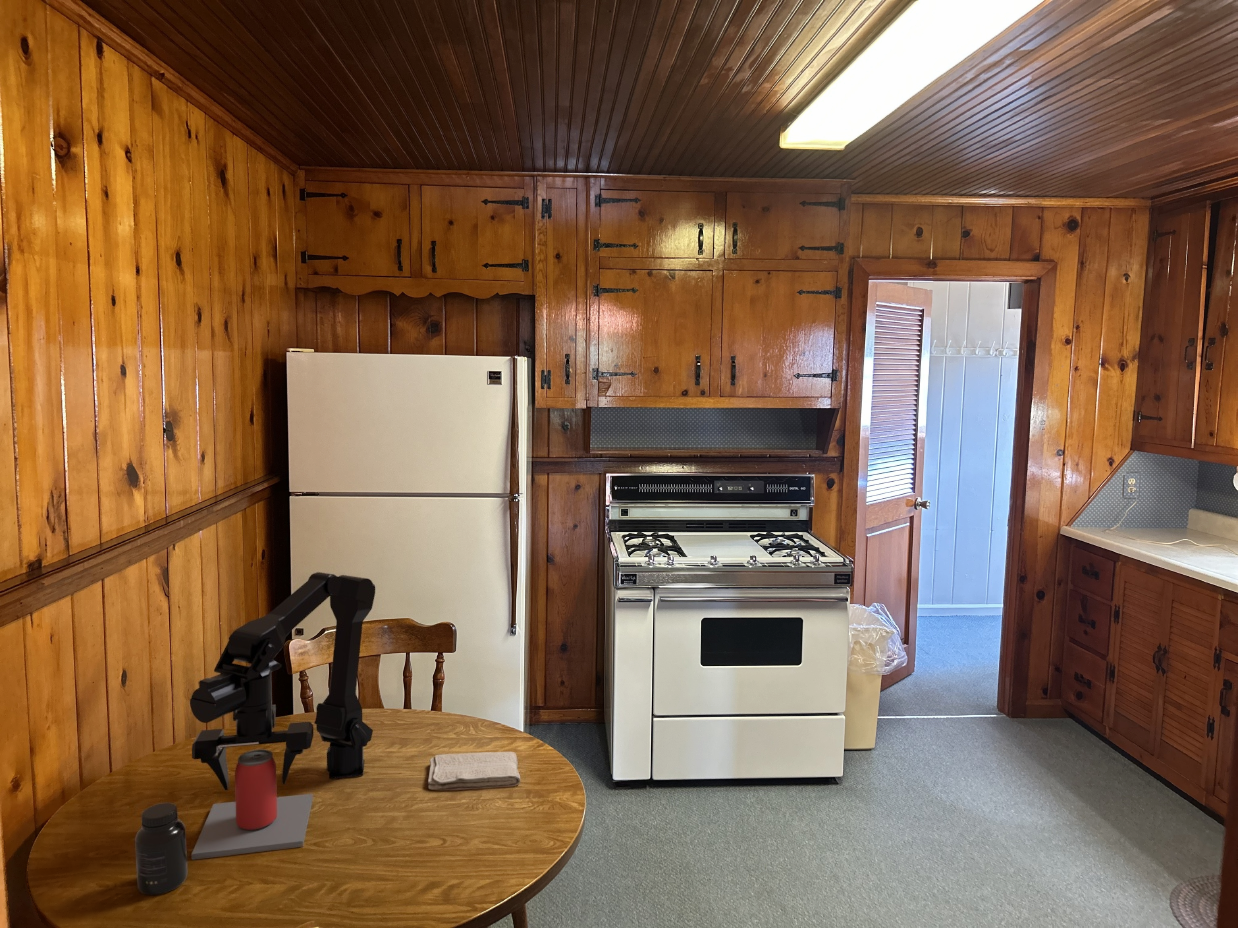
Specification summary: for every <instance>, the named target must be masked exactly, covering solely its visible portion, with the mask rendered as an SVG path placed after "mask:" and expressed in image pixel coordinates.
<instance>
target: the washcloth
mask: <svg viewBox="0 0 1238 928" xmlns="http://www.w3.org/2000/svg"><path fill="white" fill-rule="evenodd" d="M429 763H430V766H429V774H428V780H427V782H428V789H429V790H432V791H433V790H435V791H436V790H437V791H459V790H475V789H477V790H478V789H489V788H490V789H491V788H492V789H493V788H506V787H509V788H510V787H515V786H516V787H517V786H518V785H519V784H520V783H521V775H520V773H519V770H518V766H519V764H518V757H517V753H516V752H514V751H497V752H493V751H491V752H490V751H487V752H486V751H485V752H469V753H468V752H465V753H464V752H463V753H448V754H447V753H444V754H436V755H434V757H432V758H430V759H429Z"/></svg>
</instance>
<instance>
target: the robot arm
mask: <svg viewBox="0 0 1238 928" xmlns="http://www.w3.org/2000/svg"><path fill="white" fill-rule="evenodd" d="M375 596H376V585H375V584H374V582H373V581H372V580H371V579H370V578H366V577H359V576H353V575H346V574H340V575H336V574H333V573H328V572H319V571H317V572H313V573H311V575H310V576H309V577H308V580H307V581H305V582H304V583H303V584H302V585H301V586H300V587H299V588H297V589H296V590H294V592H292V593H291V594H290V595H289V596H288V597H286V598H285V599H284V600H283V601H282V602H281V603H280V604H278V605H277V606H276V607H275V608H274V609H273V610H271V611H270V612H268V613H267V614H265V615H264V616H262V617H260V618H256V619H253V620H249V621H248V622H247V623H244V624H243V625H241V626H240V627H238V628H236V629H235V630H233V632H232V633H231V634H230V635H229V637H228V641H227V643H226V645H225V647H224V650H223V651H222V654H221V655H220V657H219V659H218V661H217V663H216V666H215V667H214V670H213V671H214V673H217V674H216V675H214V676H212V677H209V678H208V677H207V678H203V679H200V680H199V682H198V688H197V689H195V690H193V692H192V694H191V697H190V699H189V704H190V710H191V713H192V714H193V716H194V718H195V719H196V720H198V721H199V722H201V723H203V724H209V723H210V722H213V721H216V720H217V719H219V718H222V717H223V716H226V715H228V714H231V713H232V721H233V722H235V727H236V728H235V729H236V730H235V734H231V735H229V734H228V735H225V730H224V729H223V728H216V729H204V730H203V729H202V730H201V731H200V732H199V733H198V734H197V735H196V737H195V739H194V741H193V743H192V745H191V759H193V760H200V763H202V764H207V765H208V767H209V768H210V769H211V770H212V771H213V773H214V774H215V775H216V777H217V779H218V780H219V782H220V784H221V786H222V787H223V789H224V791H226V792H227V791H228V790H229V788H230V777H229V769H228V762H227V748H231V747H232V748H234V747H246V746H247V747H248V746H257V745H259V746H260V745H267V744H279V743H285V751H284V754H283V763H282V772H281V773H282V774H281V775H282V776H281V784H282V786H283V785H284V786H285V785H286V782H287V779H288V776H289V772H290V769H291V767H292V765H293V762H294V760H295V758H296V756H297V755H301V754H303V753H304V750H308V749H310V748H311V747H312V742H313V739H314V724H315V725H316V731H317V733H318V734H319V735H320V738H321V741H322V742H324V743H325V742H327V743H329V746H328V747H327V750H326V772H327V773H328V779H330V780H333V779H343V778H354V777H361V776H364V771H365V759H364V747H366V746H368V743H369V742H370V741H372V737H373V732H374V731H373V728H371V727H370V726H369V725H368V724H366V723H365V722H364V721H363V706H362V705H361V702H360V700H359V698H358V695H357V683H358V674H359V663H360V654H361V643H362V642H361V641H362V634H363V623H364V621H365V619H366V617H367V616H368V615H369V613H370V612H371V610H372V609H373V605H374V601H375ZM328 598H329V607H330V609H331V612H332V614H333V615H334V619H335V623H336V625H335V634H334V644H333V654H332V665H331V674H330V683H329V684H330V685H329V693H328V694H327V695H326V698H325V699H324V700H323V701H322V702H318V703H317V705H316V716H315V720H314V723H312V722H311V721H301V722H298V721H297V722H290V723H289V724H288V728H287V730H275V731H273V729H275V727H276V716H277V715H276V713H277V712H276V710H277V706H276V704H273V696H272V695H273V694H272V693H273V692H272V691H273V690H272V688H273V687H272V672H274V671H276V670H277V671H278V670H279V669H281V668H282V664H281V663H279V662H278V661H276V660H275V659H274V658H276V657H277V655H278V654H279V652H280V651H281V650H282V649H283V647H284V645H285V642H286V637H287V636H288V635H289V634H290V633H291V631H293V630H294V629H295V628H296V627H297V626H298V625H300V623H302V622H303V621H304V620H305V619H306V618H307V617H309V615H310V614H312V613H313V611H315V610H316V609H317V608H318V607H319V606H321V605H322V604H323V603H324V602H325V601H326V600H327V599H328ZM234 661H236V662H241V663H244V664H245V663H247V664H250V665H243V664H238V663H234Z"/></svg>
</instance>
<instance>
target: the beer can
mask: <svg viewBox="0 0 1238 928" xmlns="http://www.w3.org/2000/svg"><path fill="white" fill-rule="evenodd" d="M234 791H235V793H234V794H235V795H234V796H235V797H234V798H235V802H236V824H237V825H238V827H240V828H242V829H245V830H256V829H261V828H264V827H266V826H268V825H270V824H271V823H272V822H273V821H274V820H275V819H276V817H277V797H278V796H277V795H278V794H277V791H278V789H277V762H276V760H275V758H274V754H273V752H272V751H270V750H269V749H262V748H261V749H254V750H252V749H251V750H250V751H249V750H248V751H246V752H244V753H242V754H241V755H239V756H238V758H237V762H236V766H235V771H234Z"/></svg>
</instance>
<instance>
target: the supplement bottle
mask: <svg viewBox="0 0 1238 928" xmlns="http://www.w3.org/2000/svg"><path fill="white" fill-rule="evenodd" d="M140 818H141V823H140V824H141V828H139V830H138V831H137V833H136V834H135V837H134V843H135V844H134V847H135V848H134V849H135V861H136V865H135V866H136V879H137V880H136V881H137V882H136V883H137V889H138V891H139V892H141V894H144V895H147V896H158V895H162V894H163V895H164V894H167V893H169V892H171V891H173V890H175V889H177V888H179V887H180V886H181V885H182V884H183V883H184V882H185V881H186V879H187V876H188V856H187V855H188V853H187V850H188V849H187V832H186V825H185V823H184V822H183V821H182V820H181V819H179V813H178V807H177V805H176V804H175V803H173V802H161V803H157V804H154V805H150V806H149V807H147V808H145V809H144V810H143V811H142V813H141V816H140Z"/></svg>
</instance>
